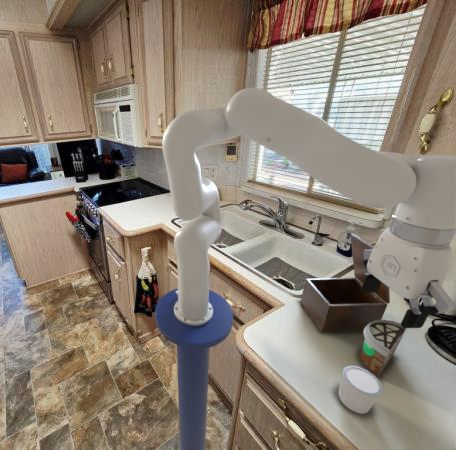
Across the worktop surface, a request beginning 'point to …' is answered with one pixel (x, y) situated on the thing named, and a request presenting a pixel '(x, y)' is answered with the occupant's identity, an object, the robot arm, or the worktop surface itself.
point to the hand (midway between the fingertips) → (387, 307)
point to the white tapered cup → (359, 389)
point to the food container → (380, 344)
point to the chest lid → (359, 267)
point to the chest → (341, 304)
